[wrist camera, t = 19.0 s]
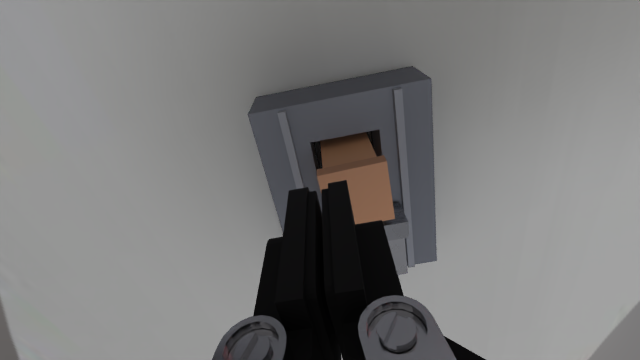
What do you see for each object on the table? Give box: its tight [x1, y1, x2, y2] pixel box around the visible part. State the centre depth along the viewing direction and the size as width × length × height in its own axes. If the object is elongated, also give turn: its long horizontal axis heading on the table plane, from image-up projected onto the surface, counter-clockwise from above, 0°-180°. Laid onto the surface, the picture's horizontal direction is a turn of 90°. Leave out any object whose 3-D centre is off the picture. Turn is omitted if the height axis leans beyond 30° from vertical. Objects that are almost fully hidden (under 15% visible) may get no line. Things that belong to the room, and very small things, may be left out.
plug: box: [317, 132, 395, 224], centre depth 28 cm, size 5×5×10 cm
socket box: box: [248, 66, 437, 267], centre depth 32 cm, size 14×18×6 cm
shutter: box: [382, 202, 410, 275], centre depth 31 cm, size 8×8×3 cm
